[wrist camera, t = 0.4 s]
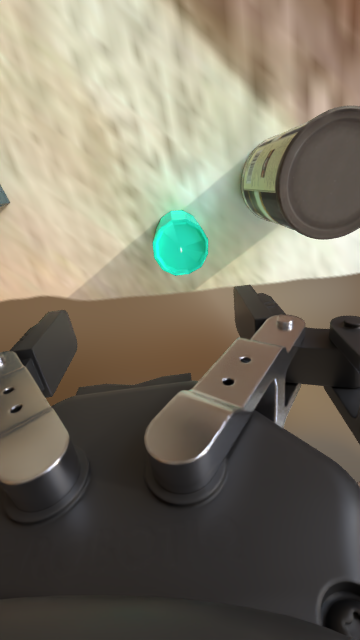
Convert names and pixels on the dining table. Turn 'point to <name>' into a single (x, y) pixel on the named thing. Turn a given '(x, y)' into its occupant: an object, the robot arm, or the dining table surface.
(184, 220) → the candle
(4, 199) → the cabinet
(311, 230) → the coffee can
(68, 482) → the robot arm
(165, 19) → the dining table surface
